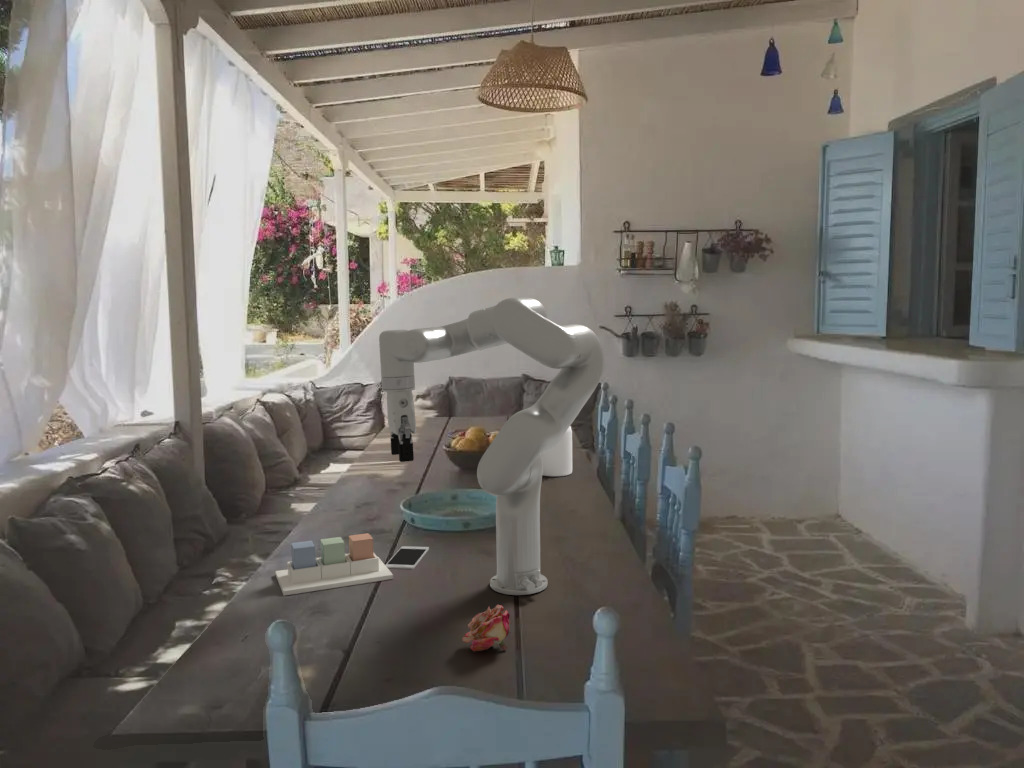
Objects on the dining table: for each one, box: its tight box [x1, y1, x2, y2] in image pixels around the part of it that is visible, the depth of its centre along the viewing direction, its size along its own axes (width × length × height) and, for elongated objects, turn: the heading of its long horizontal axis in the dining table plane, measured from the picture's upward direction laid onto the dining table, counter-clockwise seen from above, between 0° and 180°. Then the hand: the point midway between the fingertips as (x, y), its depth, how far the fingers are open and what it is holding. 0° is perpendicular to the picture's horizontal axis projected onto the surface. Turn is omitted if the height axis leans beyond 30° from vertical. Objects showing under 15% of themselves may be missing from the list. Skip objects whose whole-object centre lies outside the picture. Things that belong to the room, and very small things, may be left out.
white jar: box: [540, 425, 573, 478], centre depth 287 cm, size 12×12×20 cm
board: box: [274, 551, 394, 596], centre depth 185 cm, size 14×24×4 cm, turn 113°
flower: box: [462, 604, 512, 653], centre depth 146 cm, size 10×9×8 cm
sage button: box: [319, 536, 346, 565], centre depth 184 cm, size 5×5×5 cm
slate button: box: [290, 540, 317, 569], centre depth 182 cm, size 5×5×5 cm
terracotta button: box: [348, 532, 374, 561], centre depth 187 cm, size 5×5×5 cm
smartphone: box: [385, 545, 430, 570], centre depth 198 cm, size 7×15×1 cm, turn 172°
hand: (402, 457), depth 188 cm, fingers open, 9 cm apart
